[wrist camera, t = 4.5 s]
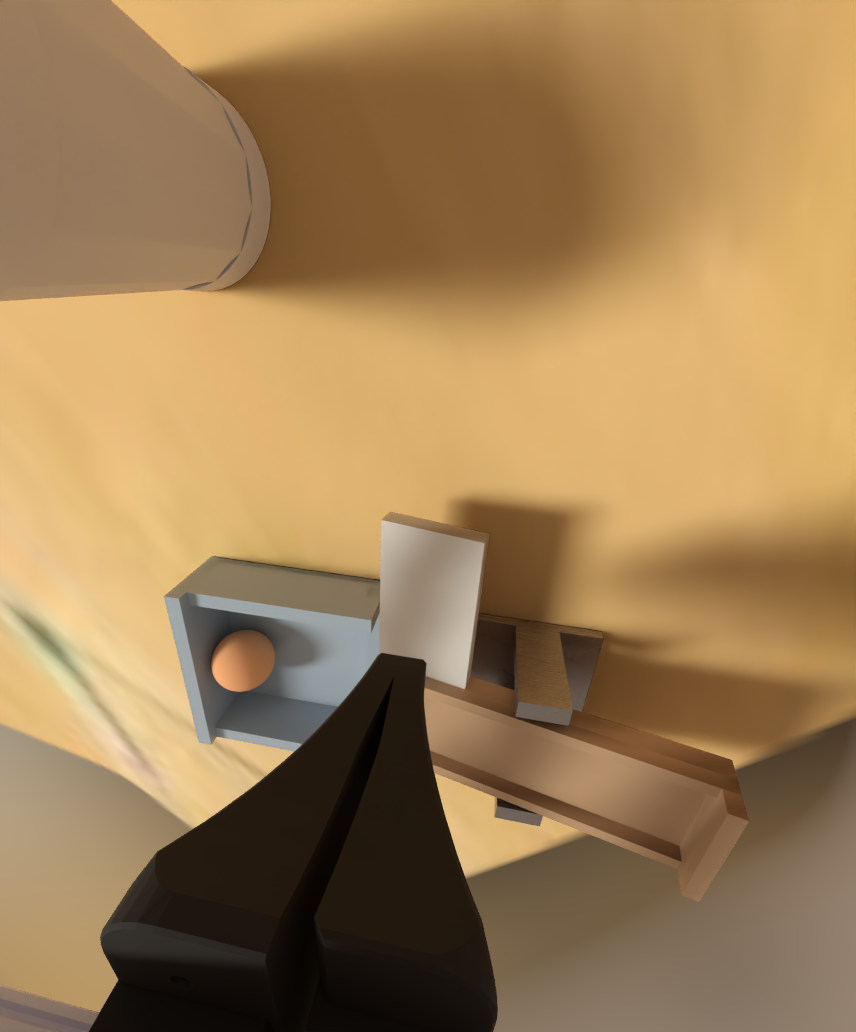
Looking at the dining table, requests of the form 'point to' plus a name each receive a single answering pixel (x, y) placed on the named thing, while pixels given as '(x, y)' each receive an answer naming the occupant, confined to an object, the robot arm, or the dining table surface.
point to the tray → (295, 638)
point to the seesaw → (544, 723)
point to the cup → (117, 161)
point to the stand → (535, 674)
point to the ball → (243, 660)
